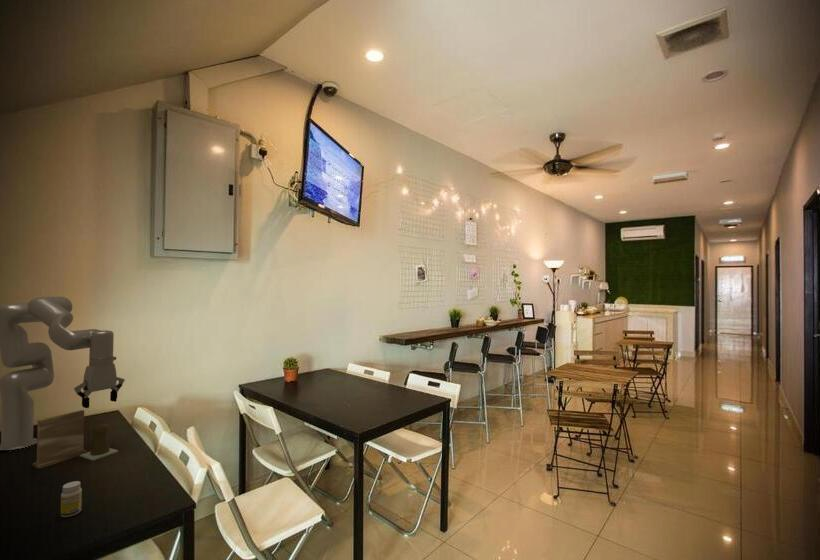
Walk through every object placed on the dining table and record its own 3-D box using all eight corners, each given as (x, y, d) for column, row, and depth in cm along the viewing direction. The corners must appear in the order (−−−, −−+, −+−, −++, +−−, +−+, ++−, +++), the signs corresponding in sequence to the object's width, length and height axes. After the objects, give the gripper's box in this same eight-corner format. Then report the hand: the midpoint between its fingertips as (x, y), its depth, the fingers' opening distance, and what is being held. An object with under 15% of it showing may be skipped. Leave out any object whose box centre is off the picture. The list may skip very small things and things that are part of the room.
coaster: (79, 456, 154) (79, 455, 154) (105, 448, 162) (105, 446, 162) (92, 460, 150) (92, 459, 150) (118, 451, 158) (118, 450, 158)
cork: (98, 456, 153) (99, 427, 153) (86, 454, 154) (86, 426, 154) (113, 449, 159) (113, 422, 159) (101, 448, 160) (102, 421, 160)
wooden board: (32, 466, 145) (33, 420, 146) (80, 451, 159) (81, 409, 159) (39, 468, 143) (40, 422, 144) (87, 453, 157) (88, 410, 157)
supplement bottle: (69, 508, 117) (69, 480, 118) (85, 508, 118) (86, 480, 118) (55, 518, 113) (56, 488, 113) (73, 517, 113) (74, 488, 113)
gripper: (119, 357, 166) (118, 397, 166) (70, 364, 151) (68, 408, 150) (129, 358, 163) (128, 400, 163) (81, 366, 147) (79, 411, 147)
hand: (100, 404), depth 157 cm, fingers open, 9 cm apart
